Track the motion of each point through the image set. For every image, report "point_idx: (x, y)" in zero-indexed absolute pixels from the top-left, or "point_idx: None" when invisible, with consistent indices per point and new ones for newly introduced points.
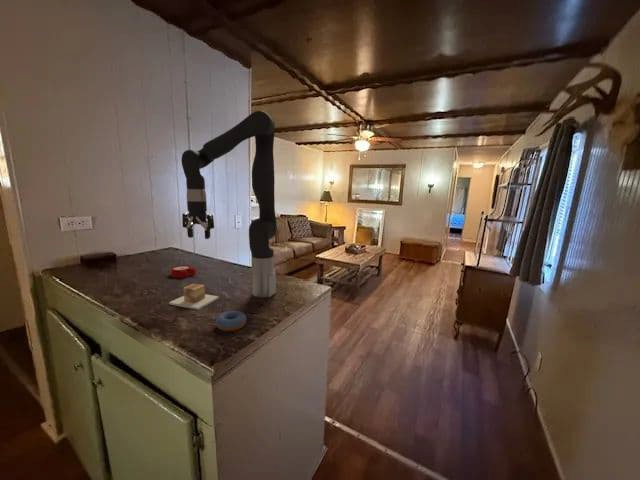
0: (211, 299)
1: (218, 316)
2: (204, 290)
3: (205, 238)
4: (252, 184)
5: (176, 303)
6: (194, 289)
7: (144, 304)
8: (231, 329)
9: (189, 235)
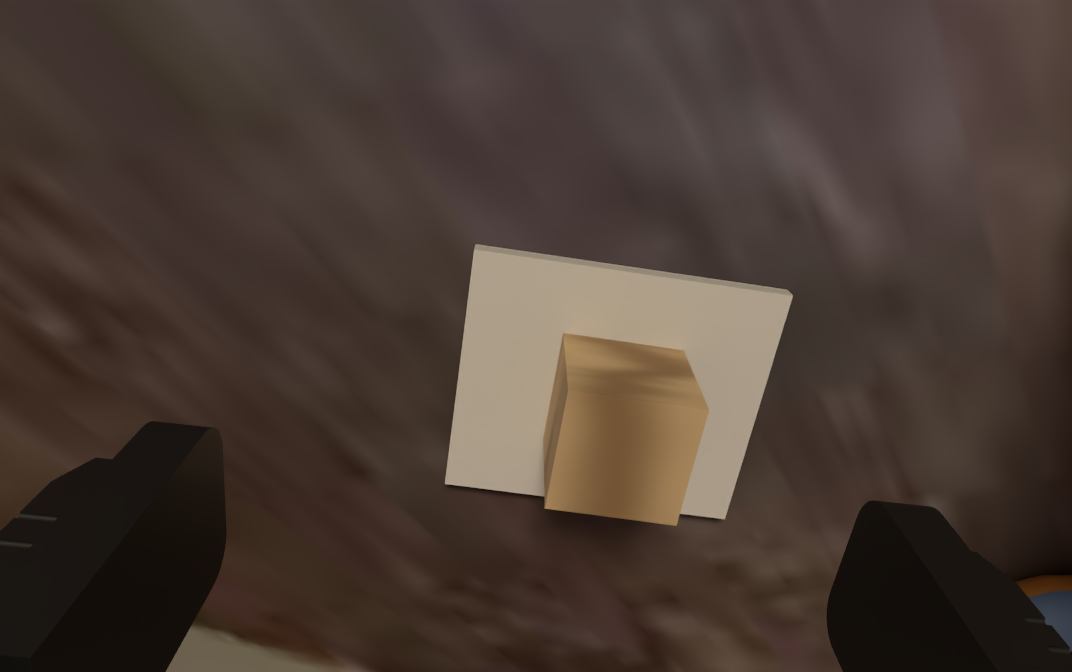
0: (756, 369)
1: None
2: (696, 386)
3: (842, 632)
4: None
5: (515, 488)
6: (671, 519)
7: (266, 508)
8: None
9: (191, 619)
